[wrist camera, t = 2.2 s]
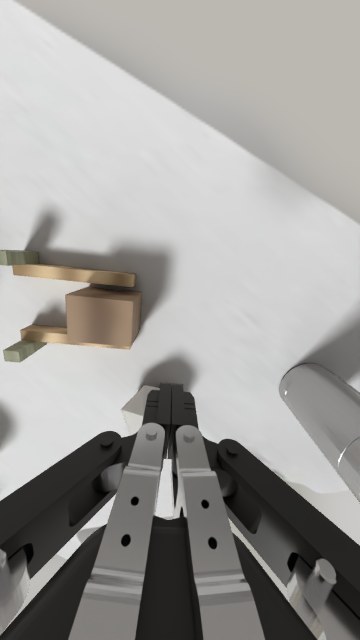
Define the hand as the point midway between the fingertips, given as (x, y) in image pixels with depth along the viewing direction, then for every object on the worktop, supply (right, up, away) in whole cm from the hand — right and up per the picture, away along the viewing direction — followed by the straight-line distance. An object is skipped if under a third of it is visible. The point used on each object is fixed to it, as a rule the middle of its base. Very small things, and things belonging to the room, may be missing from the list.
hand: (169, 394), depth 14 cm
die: (-4, -9, +24) cm, 26 cm away
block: (-10, +7, +19) cm, 22 cm away
